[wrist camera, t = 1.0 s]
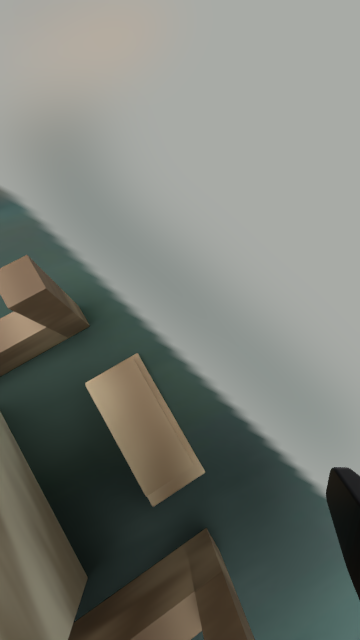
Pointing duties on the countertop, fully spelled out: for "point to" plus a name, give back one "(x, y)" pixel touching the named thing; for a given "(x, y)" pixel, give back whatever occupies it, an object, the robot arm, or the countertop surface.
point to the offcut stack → (144, 429)
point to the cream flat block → (33, 556)
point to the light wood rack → (175, 569)
